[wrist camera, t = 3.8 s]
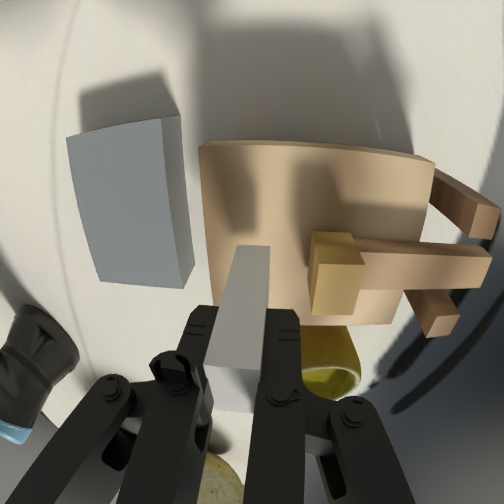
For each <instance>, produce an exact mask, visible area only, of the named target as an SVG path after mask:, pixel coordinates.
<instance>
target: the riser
mask: <svg viewBox="0 0 504 504" xmlns="http://www.w3.org/2000/svg"><path fill="white" fill-rule="evenodd" d="M66 142H67V150H68V156H69V163H70V169H71V175H72V180H73V185H74V190H75V195H76V199H77V204H78V208H79V212H80V216H81V220H82V224H83V228H84V232H85V235H86V239H87V242H88V246H89V249H90V252H91V256H92V259H93V262H94V265H95V268H96V271H97V274H98V277H99V280H100V281H102V282H112V283H121V284H131V285H141V286H152V287H164V288H177V289H183V288H184V286H185V284H186V282H187V280H188V278H189V276H190V274H191V271H192V269H193V267H194V265H195V260H194V253H193V245H192V237H191V229H190V221H189V212H188V203H187V193H186V183H185V172H184V160H183V147H182V132H181V115H179V116H170V117H162V118H155V119H148V120H142V121H136V122H130V123H124V124H119V125H114V126H109V127H105V128H100V129H96V130H92V131H88V132H84V133H80V134H77V135H74V136H70V137H67V138H66Z"/></svg>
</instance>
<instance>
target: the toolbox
mask: <svg viewBox="0 0 504 504" xmlns="http://www.w3.org/2000/svg"><path fill="white" fill-rule="evenodd" d="M429 203H430V204H432V205H433V206H434V207H435V208H436V209H438V210H439V211H440V212H441V213H442V214H443V215H445V216H446V217H447V218H448V219H449V220H450V221H451V222H453V223H454V224H455V225H456V226H457V227H458V228H459V229H460V230H461V231H462V232H464V233H465V234H466V235H467V236H468V237H472V238H482V239H492V238H493V235H494V231H495V228H496V225H497V221H498V218H499V214H500V210H501V208H500V207H498V206H497V205H495V204H494V203H492V202H491V201H489V200H488V199H487V198H485V197H483V196H482V195H480V194H479V193H477V192H476V191H474V190H473V189H471V188H469V187H468V186H466V185H464V184H463V183H461V182H459V181H458V180H456V179H454V178H453V177H451V176H449V175H447V174H445V173H444V172H442V171H440V170H438V169H436V168H435V170H434V177H433V183H432V188H431V193H430V198H429ZM404 293H405V295H406V297H407V299H408V301H409V303H410V305H411V307H412V309H413V311H414V313H415V315H416V317H417V319H418V321H419V323H420V325H421V327H422V330H423V332H424V334H425V336H426V338H427V337H436V336H445V335H449V334H450V333H451V331H452V329H453V327H454V325H455V324H456V322H457V320H458V318H459V316H460V313H459V311H458V310H457V308H456V307H455V305H454V303H453V302H452V300H451V299H450V297H449V296H448V294H447V292H446V291H445V289H411V290H404Z"/></svg>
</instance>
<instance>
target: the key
mask: <svg viewBox="0 0 504 504" xmlns="http://www.w3.org/2000/svg"><path fill="white" fill-rule="evenodd" d="M491 260H492V257H491V256H490V255H489V254H488V253H487V252H486V251H485V250H484V249H483V248H482V247H481V246H471V245H458V244H444V243H429V242H412V241H395V240H376V239H357V238H353V237H352V235H351V233H343V232H321V231H312V236H311V246H310V256H309V265H308V273H307V281H308V290H309V298H310V307H311V315H353V312H354V308H355V305H356V301H357V298H358V294H359V290H411V289H456V288H479V287H480V286H481V284H482V282H483V280H484V277H485V275H486V272H487V270H488V268H489V264H490V262H491Z"/></svg>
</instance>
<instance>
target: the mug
mask: <svg viewBox="0 0 504 504" xmlns="http://www.w3.org/2000/svg"><path fill="white" fill-rule="evenodd" d="M300 336H301V362H302V379H303V382H304V384H305V386H306V387H307V388H308V389H309V391H311V392H312V393H314V394H315V395H317V396H320V397H323V398H327V399H330V400H334V401H336V400H338V399H340V398H342V397H344V396H346V395H348V394H349V393H352V392H353V391H354V390H355V389H356V388H357V386H358V385H359V383H360V381H361V366H360V361H359V358H358V355H357V352H356V350H355V347H354V345H353V342H352V339H351V337H350V334H349V332H348V329H347V327H346V325H300Z"/></svg>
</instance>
